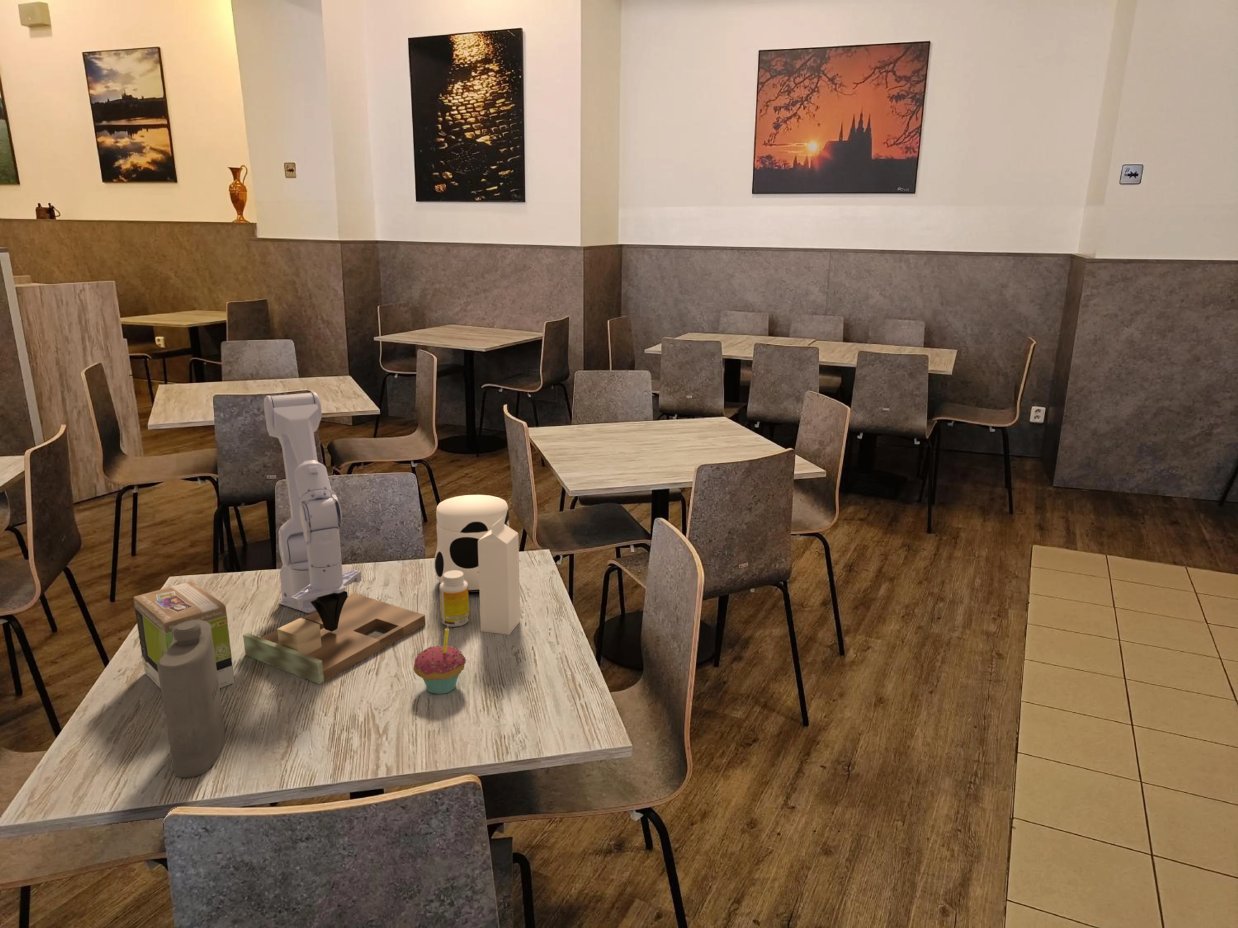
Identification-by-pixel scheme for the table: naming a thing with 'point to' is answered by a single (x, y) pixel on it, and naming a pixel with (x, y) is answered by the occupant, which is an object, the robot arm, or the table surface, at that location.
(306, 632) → the block
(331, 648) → the wooden board with holes
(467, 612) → the supplement bottle
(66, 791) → the table surface
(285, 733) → the table surface
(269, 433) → the robot arm
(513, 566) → the milk
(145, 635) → the tea box
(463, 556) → the milk container
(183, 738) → the flask
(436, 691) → the cupcake
